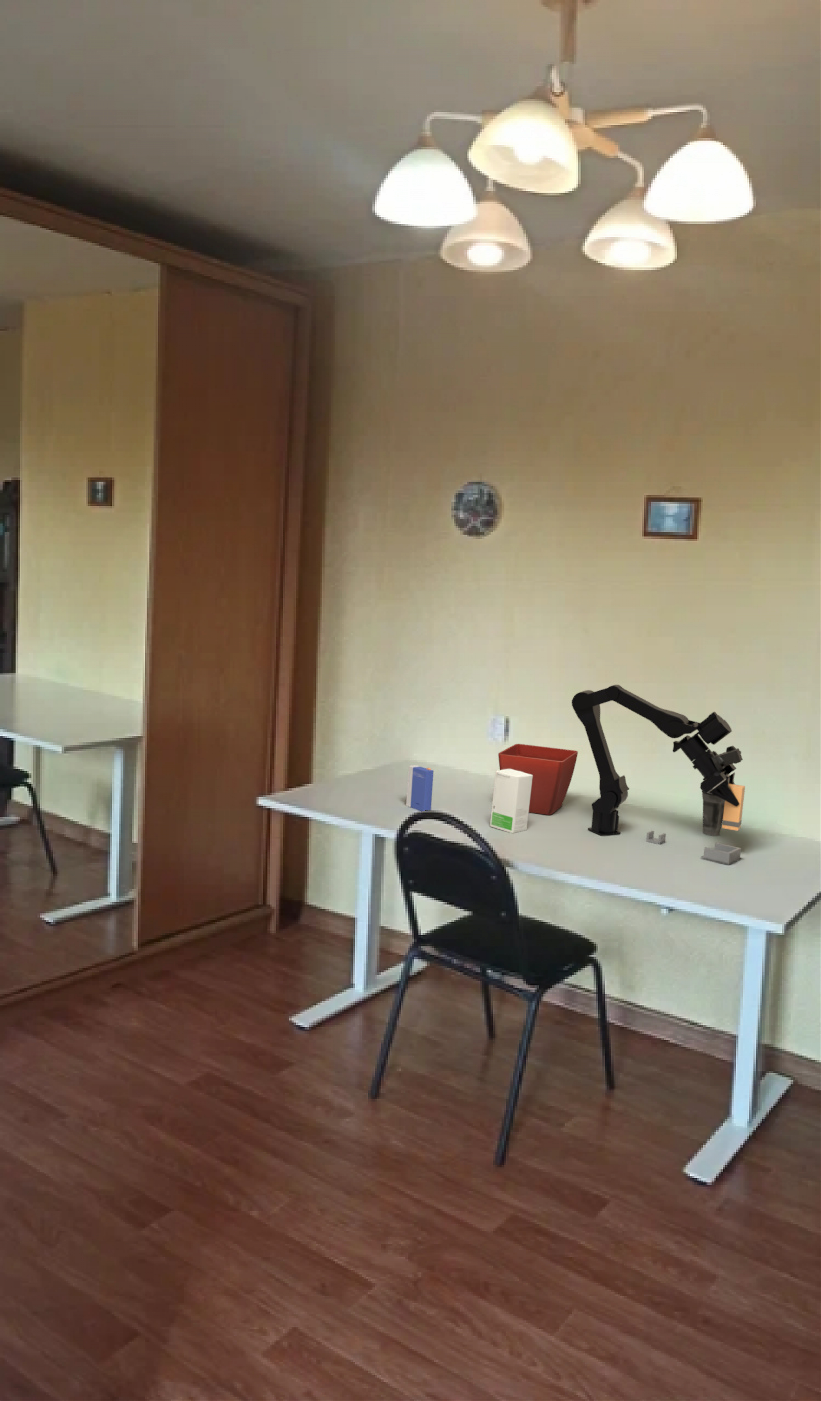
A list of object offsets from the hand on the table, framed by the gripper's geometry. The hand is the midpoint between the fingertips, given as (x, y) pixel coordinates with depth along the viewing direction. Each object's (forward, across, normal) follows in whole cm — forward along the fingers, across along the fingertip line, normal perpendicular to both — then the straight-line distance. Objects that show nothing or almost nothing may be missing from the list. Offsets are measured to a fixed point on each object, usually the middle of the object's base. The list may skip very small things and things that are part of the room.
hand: (739, 803), depth 288 cm
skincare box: (-30, -13, +50) cm, 60 cm away
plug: (+4, 0, +6) cm, 7 cm away
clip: (-5, -1, +24) cm, 24 cm away
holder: (+8, -7, +11) cm, 15 cm away
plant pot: (-32, +14, +52) cm, 62 cm away
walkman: (-51, -9, +71) cm, 88 cm away
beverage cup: (+3, +18, +16) cm, 25 cm away
